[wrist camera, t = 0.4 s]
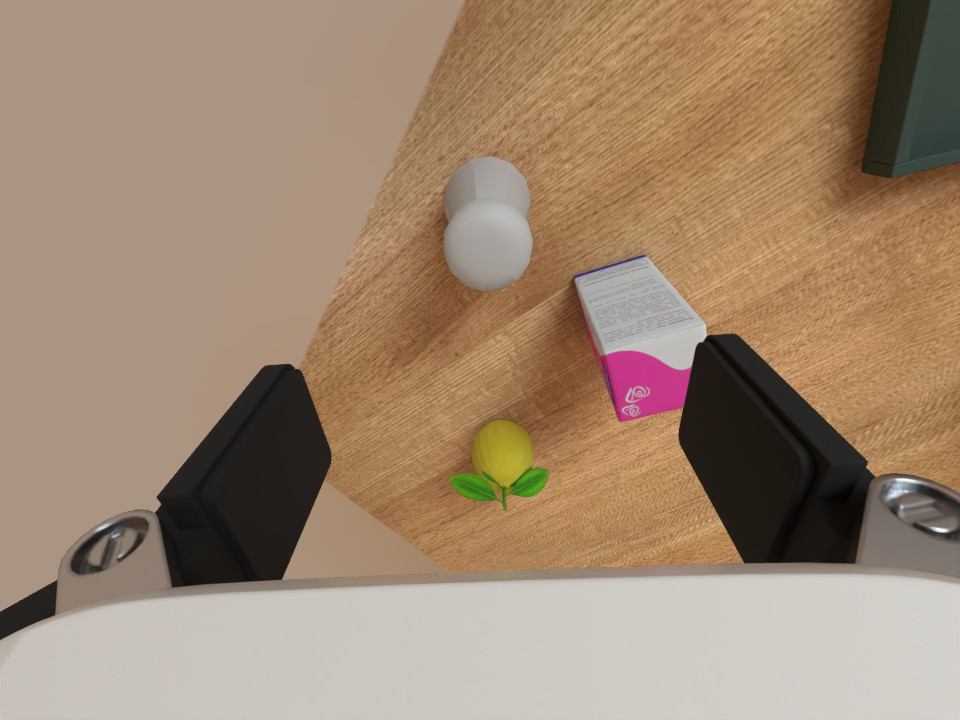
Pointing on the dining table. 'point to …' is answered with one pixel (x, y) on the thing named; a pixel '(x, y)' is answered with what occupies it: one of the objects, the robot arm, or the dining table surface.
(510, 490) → the lemon
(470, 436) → the dining table surface
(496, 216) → the salt shaker
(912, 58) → the tray
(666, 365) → the supplement box
